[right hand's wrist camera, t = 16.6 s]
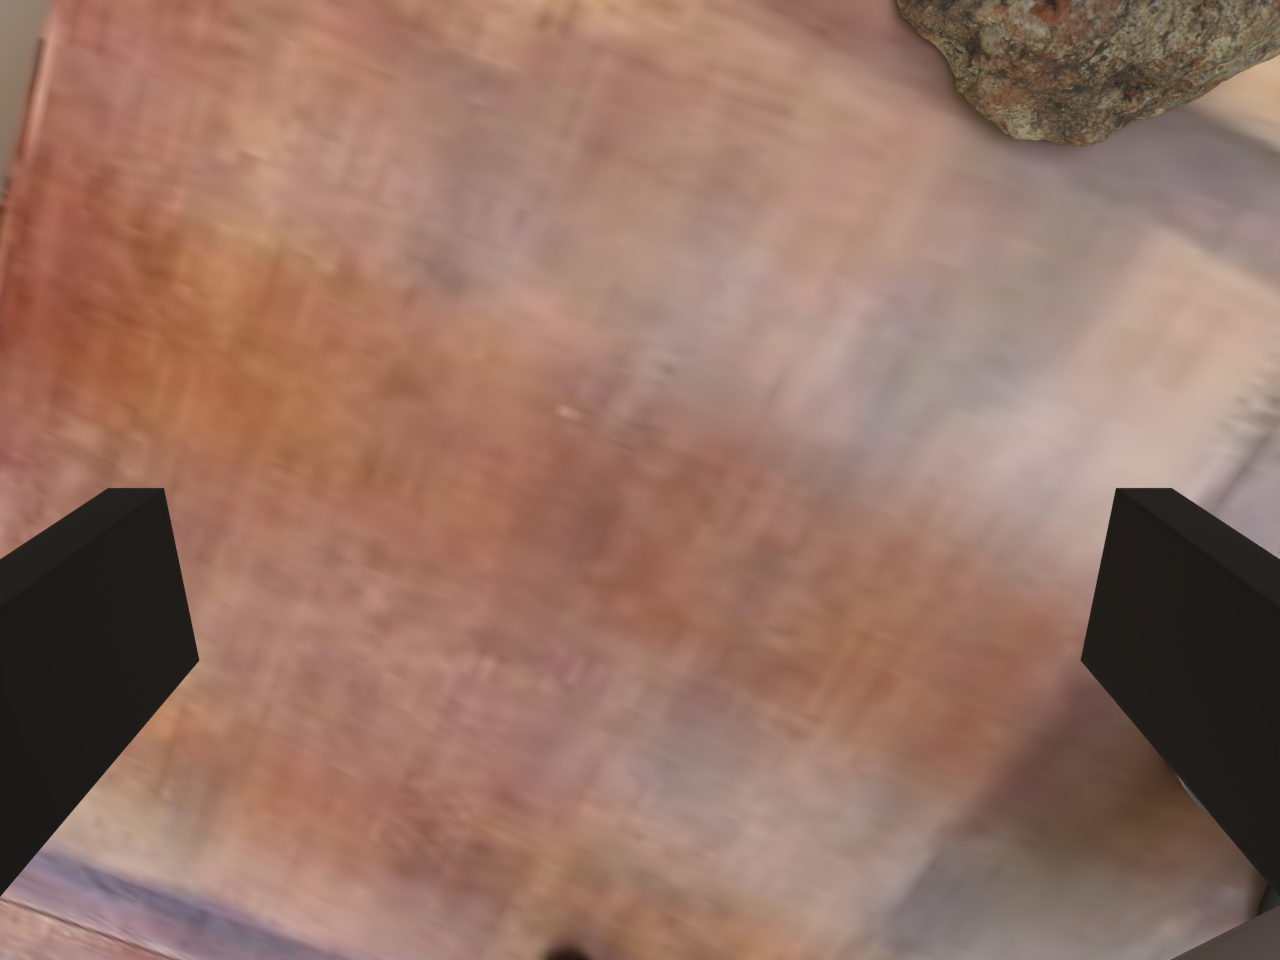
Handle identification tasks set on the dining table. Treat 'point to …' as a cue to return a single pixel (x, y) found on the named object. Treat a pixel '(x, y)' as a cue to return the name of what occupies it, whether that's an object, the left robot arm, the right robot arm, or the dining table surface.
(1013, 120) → the rock
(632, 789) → the dining table surface
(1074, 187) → the dining table surface
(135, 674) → the right robot arm
